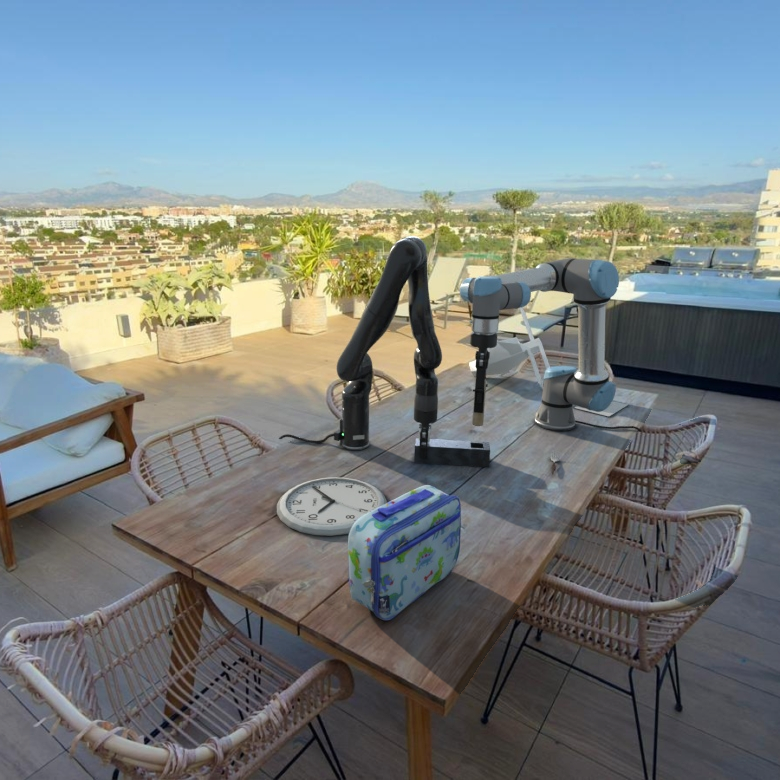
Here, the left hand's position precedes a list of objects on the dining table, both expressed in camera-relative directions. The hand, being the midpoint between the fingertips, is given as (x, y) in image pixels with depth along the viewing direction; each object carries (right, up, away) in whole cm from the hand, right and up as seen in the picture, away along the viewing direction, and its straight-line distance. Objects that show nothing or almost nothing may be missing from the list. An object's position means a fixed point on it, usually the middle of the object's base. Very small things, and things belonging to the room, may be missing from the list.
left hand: (424, 454), depth 172 cm
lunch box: (-8, -21, -62) cm, 66 cm away
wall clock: (-27, -10, -29) cm, 41 cm away
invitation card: (+80, +14, +54) cm, 98 cm away
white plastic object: (+47, +24, +86) cm, 101 cm away
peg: (+15, +11, -15) cm, 24 cm away
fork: (+42, -3, -3) cm, 42 cm away
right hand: (+15, +15, -16) cm, 27 cm away
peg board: (+9, -2, 0) cm, 9 cm away
